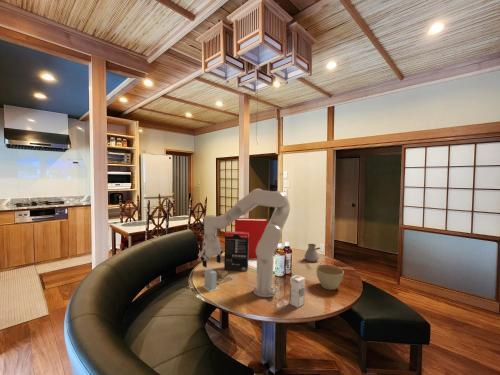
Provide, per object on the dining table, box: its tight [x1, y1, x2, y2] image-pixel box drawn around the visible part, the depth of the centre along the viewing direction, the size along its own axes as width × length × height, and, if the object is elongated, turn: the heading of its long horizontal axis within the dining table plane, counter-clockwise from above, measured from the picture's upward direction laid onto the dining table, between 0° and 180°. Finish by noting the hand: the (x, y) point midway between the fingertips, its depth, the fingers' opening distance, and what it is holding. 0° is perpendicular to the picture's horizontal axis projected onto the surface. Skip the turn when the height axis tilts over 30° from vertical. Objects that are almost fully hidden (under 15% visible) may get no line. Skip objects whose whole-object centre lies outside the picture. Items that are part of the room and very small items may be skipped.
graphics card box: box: [223, 230, 249, 272], centre depth 167 cm, size 17×7×27 cm, turn 85°
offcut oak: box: [216, 275, 230, 282], centre depth 150 cm, size 4×8×2 cm, turn 133°
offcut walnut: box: [217, 270, 229, 279], centre depth 150 cm, size 4×6×2 cm, turn 152°
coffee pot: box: [304, 243, 321, 263], centre depth 184 cm, size 21×12×15 cm, turn 8°
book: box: [234, 217, 269, 259], centre depth 194 cm, size 27×8×32 cm, turn 88°
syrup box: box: [288, 274, 306, 308], centre depth 122 cm, size 6×6×14 cm
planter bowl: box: [315, 264, 345, 291], centre depth 143 cm, size 16×16×11 cm
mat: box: [201, 284, 219, 293], centre depth 139 cm, size 9×6×1 cm, turn 42°
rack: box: [202, 268, 233, 285], centre depth 153 cm, size 18×11×2 cm, turn 42°
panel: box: [204, 267, 218, 291], centre depth 138 cm, size 8×3×10 cm, turn 42°
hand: (211, 264), depth 138 cm, fingers open, 9 cm apart
